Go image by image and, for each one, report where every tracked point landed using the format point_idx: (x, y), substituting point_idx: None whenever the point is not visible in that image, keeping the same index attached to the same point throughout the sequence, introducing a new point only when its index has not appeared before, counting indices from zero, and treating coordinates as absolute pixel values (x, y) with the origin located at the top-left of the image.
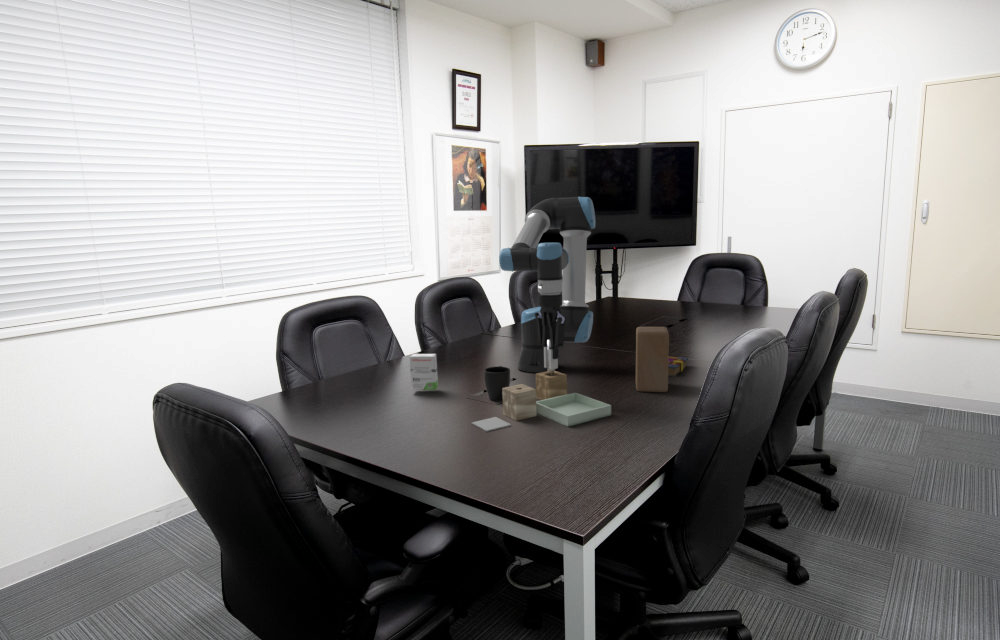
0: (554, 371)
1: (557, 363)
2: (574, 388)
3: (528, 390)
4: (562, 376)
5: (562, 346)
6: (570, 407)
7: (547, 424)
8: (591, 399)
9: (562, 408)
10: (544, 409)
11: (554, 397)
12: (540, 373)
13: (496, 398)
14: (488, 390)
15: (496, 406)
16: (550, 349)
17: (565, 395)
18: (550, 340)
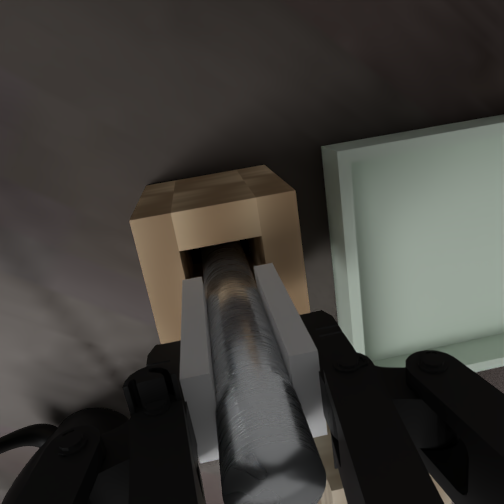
0: (245, 270)
1: (279, 280)
2: (83, 2)
3: (444, 494)
4: (298, 227)
5: (444, 359)
6: (402, 226)
7: (486, 376)
8: (482, 138)
9: (393, 264)
10: None
11: (352, 292)
12: (174, 335)
13: None
14: None
15: (205, 470)
16: (321, 432)
17: (354, 228)
18: (316, 500)
